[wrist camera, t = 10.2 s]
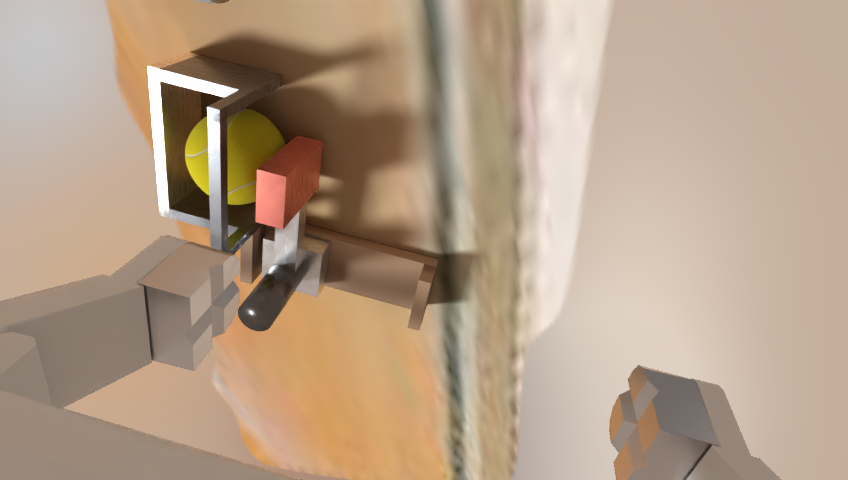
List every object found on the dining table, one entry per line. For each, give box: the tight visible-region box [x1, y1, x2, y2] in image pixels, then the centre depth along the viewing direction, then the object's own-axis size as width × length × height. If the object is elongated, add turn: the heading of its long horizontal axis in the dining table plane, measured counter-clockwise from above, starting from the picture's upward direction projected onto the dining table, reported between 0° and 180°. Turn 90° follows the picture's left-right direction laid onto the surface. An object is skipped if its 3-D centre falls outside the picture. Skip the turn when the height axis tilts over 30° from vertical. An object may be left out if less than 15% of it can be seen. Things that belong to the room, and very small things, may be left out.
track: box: [240, 224, 438, 330], centre depth 45 cm, size 5×16×4 cm, turn 79°
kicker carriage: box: [238, 135, 330, 331], centre depth 40 cm, size 13×5×9 cm, turn 169°
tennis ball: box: [185, 108, 286, 205], centre depth 39 cm, size 7×7×7 cm
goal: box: [147, 52, 282, 254], centre depth 38 cm, size 12×7×9 cm, turn 169°
